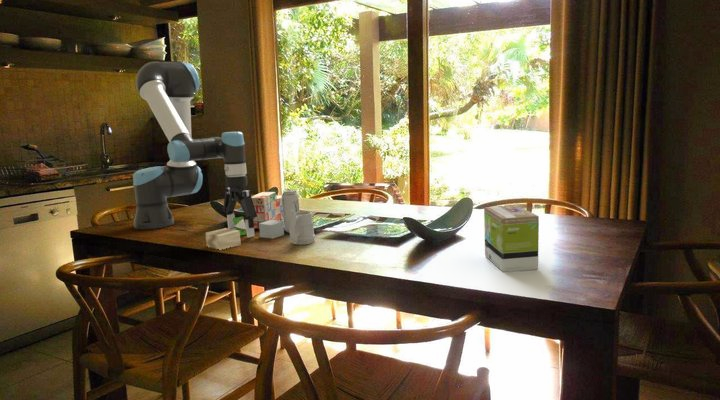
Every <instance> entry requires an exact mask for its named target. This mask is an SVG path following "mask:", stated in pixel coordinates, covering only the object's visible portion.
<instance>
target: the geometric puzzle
mask: <svg viewBox="0 0 720 400" xmlns="http://www.w3.org/2000/svg"><path fill="white" fill-rule="evenodd" d="M245 218H246V216H245V217H244V216H239V217H235V218H233V221H234V224H235V225H234V224H233V225H234V226H235V227H233V228H235V229H236V230H238V231H240V237H241V236H245V235H247V232H246V221H245ZM233 228H230V229H233Z"/></svg>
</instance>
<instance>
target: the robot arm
mask: <svg viewBox="0 0 720 400" xmlns="http://www.w3.org/2000/svg"><path fill="white" fill-rule="evenodd" d="M198 73H199V72H198V71H197V70H196V68H195V66H194V65H192V64H191V63H189V62H183V61H182V62H181V61H150V62H147V63H145V64H144V65H143V66H142V67H140V69H139V70H138V73H137V74H136V80H135V84H136V85H135V86H136V90H137V92H138V94H139V96H140V97H141V99H143V100H145V101H146V102H147V105H148V106H149V108H150V109H151V111H152V114H153V115H154V116H155V119H156V121H157V122H158V124H159V126H160V128H161V129H162V131H163V133H164V135H165V137H166V139H167V140H168V142H169V143H168V144H167V148H166V149H167V154H168V157H169V161H167V163H166V168H164V167H163V166H151V167H147V168H143V169H139V170H136V171H134V173H133V175H132V179H133V183H132V185H133V189H134V196H135V198H134V199H135V204H136V212H135V215H134V220H133V227H134V229H135V230H156V229H161V228H167V227H169V226H172V225H174V224H175V218H174V215H173V214H172V212H171V210H170V207H169V205H168V199H167V198H173V197H178V196H180V197H181V196H188V195H192V194H196V193H198V192H199V191H200V190H201V188H202V185H203V173H202V169H201V167H199V166H198V165H197V162H196V161H203V160H212V159H213V160H214V159H223V164H224V168H223V169H224V173H225V178H224V179H225V186H226V187H225V188H224V198H223V199H224V200H223V208H222V213H225V215H226V221H227V228H228V229H230V228H233V227H235V226H234V225H235V224H234V221H233V218H236V217H235V216H236V215H235V207H236V205H237V202H238V204H240V206H241V209H242V211H243V213H244V216H245V218H244V221H245V224H246V232H247V234H246V238H252V237H255V229H254V220H253V219H254V218H255V217H257V214H256V210H255V207H254V204H253V201H252V198H251V197H252V192H251V190H250V189H248V190H246V188H245V187H247V186H248V176H247V174H248V172H247V171H248V170H247V162H246V146H245V144H246V143H245V139H244V133H243V132H242V131H227V132H226V131H225V132H222V133H221V137H220V136H212V137H207V138H193V137H192V113H191V101H192V100H193V99H194V98H195V93H197V92H198V91H199V89H200V86H201V85H200V77H199V74H198ZM233 224H234V225H233ZM233 230H236V229H235V228H233Z"/></svg>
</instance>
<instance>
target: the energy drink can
mask: <svg viewBox="0 0 720 400" xmlns="http://www.w3.org/2000/svg"><path fill="white" fill-rule="evenodd" d="M281 195H282V205H283V218H284V219H283V226H284V231H285V232H286V233H289V229H290V219H291V210H293V211H295V212H301V211H300V198H299V197H300V196H299V193H298V191H297V189H285V190H283V193H282V194H281ZM295 212H294V213H295Z"/></svg>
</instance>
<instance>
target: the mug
mask: <svg viewBox="0 0 720 400" xmlns="http://www.w3.org/2000/svg"><path fill="white" fill-rule="evenodd" d="M294 212H295V211H293V210H291V219H290V229H289V232H288V233H289V238H290V240H291V242H292V244H295V245H301V246H302V245H309V244H313V243H314V242H315V241H316V240H315V239H316V234H315V229H314V224H315V221H314V219H313V213H312V211H306V210H304V211H300V212H295V213H294Z"/></svg>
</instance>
